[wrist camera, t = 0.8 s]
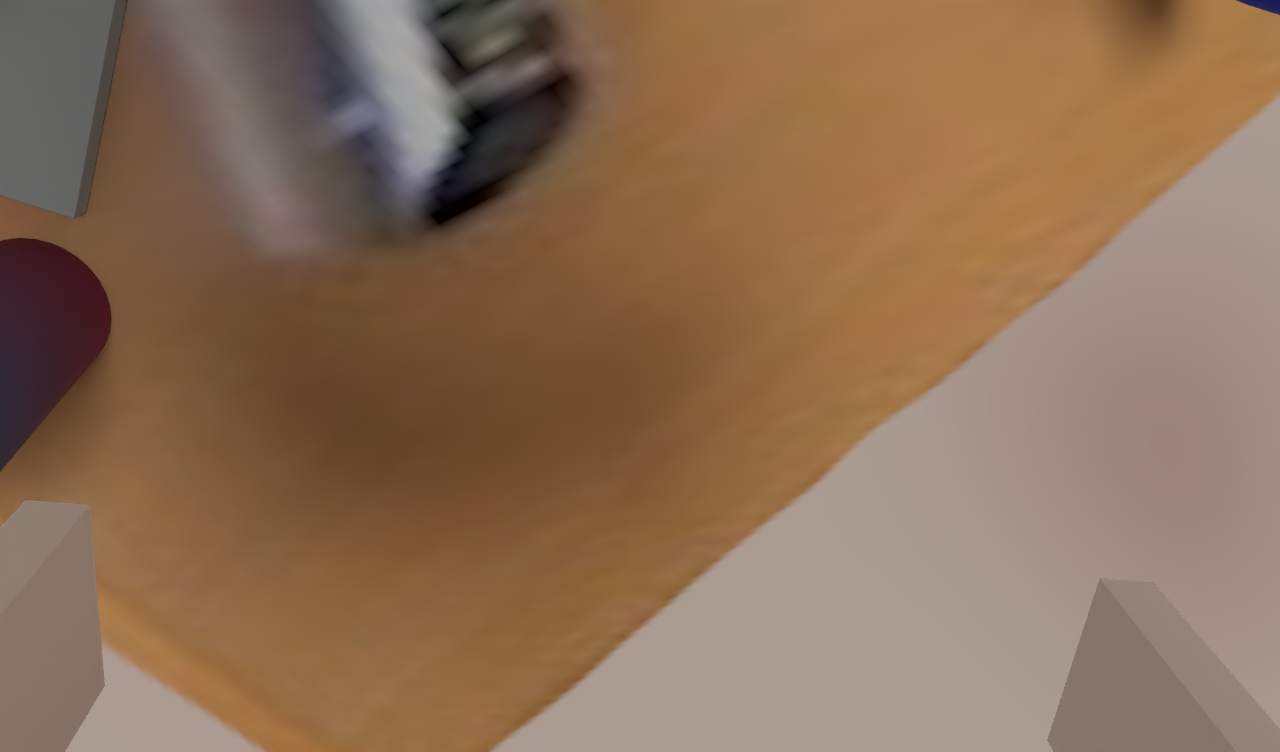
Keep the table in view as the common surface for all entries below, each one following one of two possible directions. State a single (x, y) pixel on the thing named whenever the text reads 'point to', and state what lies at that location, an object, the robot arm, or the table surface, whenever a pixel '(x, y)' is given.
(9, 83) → the mat
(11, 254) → the cup
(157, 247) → the table surface
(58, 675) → the robot arm
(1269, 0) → the mug
